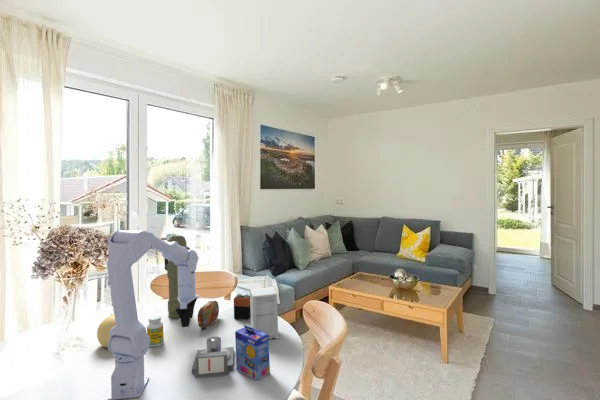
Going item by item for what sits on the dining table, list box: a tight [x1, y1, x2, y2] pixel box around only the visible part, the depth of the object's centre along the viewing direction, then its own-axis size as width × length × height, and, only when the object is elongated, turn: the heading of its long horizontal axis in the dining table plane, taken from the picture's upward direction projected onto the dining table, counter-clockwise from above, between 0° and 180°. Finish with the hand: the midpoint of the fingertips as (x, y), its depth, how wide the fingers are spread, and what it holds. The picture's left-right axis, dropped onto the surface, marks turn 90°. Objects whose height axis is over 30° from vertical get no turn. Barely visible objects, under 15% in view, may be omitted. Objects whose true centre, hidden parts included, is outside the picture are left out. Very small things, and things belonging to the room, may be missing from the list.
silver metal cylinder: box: [206, 336, 222, 353], centre depth 107 cm, size 4×4×5 cm
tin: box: [197, 300, 220, 329], centre depth 138 cm, size 15×3×8 cm, turn 170°
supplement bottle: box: [146, 315, 165, 348], centre depth 120 cm, size 5×5×10 cm
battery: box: [233, 293, 251, 321], centre depth 144 cm, size 4×7×10 cm, turn 80°
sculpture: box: [96, 313, 116, 348], centre depth 121 cm, size 12×12×11 cm
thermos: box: [163, 235, 192, 320], centre depth 147 cm, size 9×12×35 cm
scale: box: [191, 346, 235, 379], centre depth 106 cm, size 15×12×6 cm
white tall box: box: [249, 286, 279, 340], centre depth 127 cm, size 10×9×17 cm
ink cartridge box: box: [234, 324, 271, 381], centre depth 101 cm, size 10×6×14 cm, turn 51°
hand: (187, 322), depth 117 cm, fingers open, 7 cm apart
